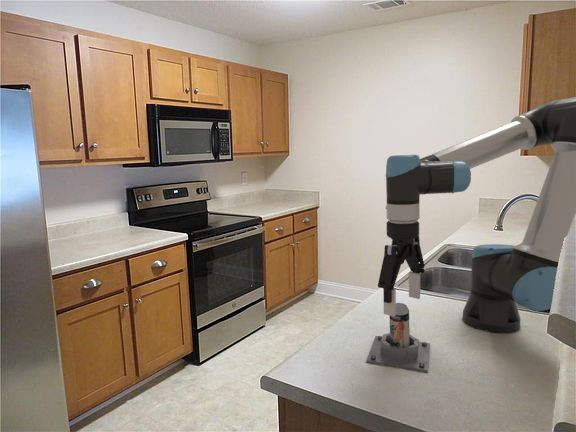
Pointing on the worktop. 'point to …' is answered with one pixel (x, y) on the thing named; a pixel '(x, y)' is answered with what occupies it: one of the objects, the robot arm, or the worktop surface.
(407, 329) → the beer can
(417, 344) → the duct flange
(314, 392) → the worktop surface
